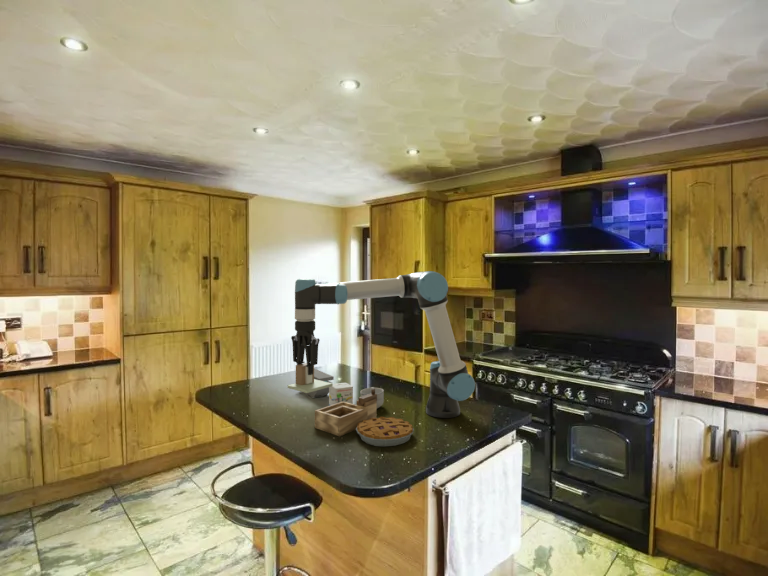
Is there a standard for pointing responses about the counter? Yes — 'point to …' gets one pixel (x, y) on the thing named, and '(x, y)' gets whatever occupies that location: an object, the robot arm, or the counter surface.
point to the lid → (309, 387)
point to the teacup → (377, 391)
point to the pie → (385, 431)
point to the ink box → (340, 393)
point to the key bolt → (367, 397)
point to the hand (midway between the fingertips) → (305, 382)
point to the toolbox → (344, 416)
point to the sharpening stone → (322, 377)
